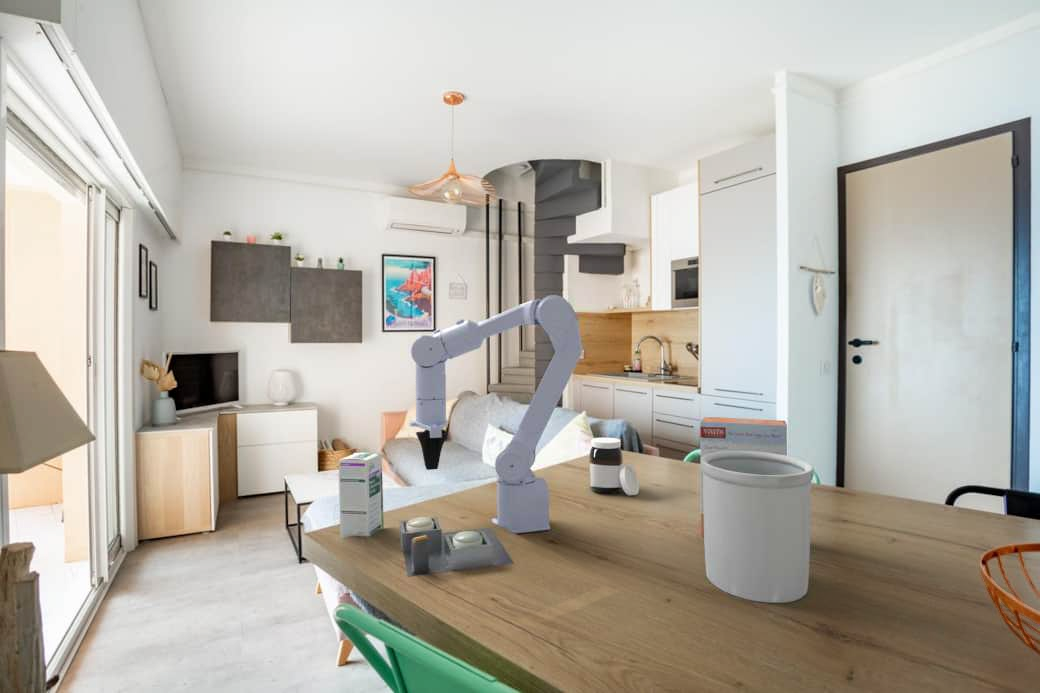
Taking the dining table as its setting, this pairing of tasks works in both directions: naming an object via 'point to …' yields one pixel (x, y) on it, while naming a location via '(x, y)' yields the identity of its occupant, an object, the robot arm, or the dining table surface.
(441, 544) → the mount panel
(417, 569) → the dial post
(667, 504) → the dining table surface
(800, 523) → the utensil holder
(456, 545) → the knob sage
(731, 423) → the cracker box
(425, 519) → the knob cream
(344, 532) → the syrup box
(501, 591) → the dining table surface
